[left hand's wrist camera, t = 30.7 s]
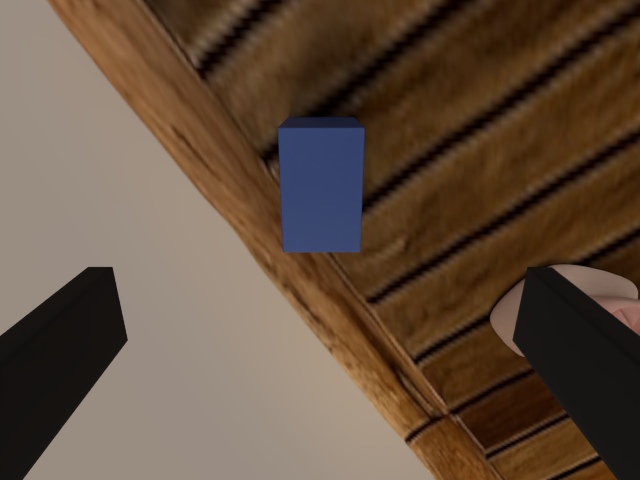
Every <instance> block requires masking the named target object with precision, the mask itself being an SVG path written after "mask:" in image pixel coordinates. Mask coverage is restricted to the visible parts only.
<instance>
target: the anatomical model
mask: <svg viewBox="0 0 640 480" xmlns="http://www.w3.org/2000/svg"><path fill="white" fill-rule="evenodd" d="M548 267H552V268H554V269H555V270H556V271H558V272H559V273H560V274H561V275H563V276H564V277H565V278H566V279H568V280H569V281H570V282H572V283H573V284H574V285H575V286H577V287H578V288H579V289H580V290H582V291H583V292H584V293H586V294H587V295H588V296H589V297H591V298H592V299H593V300H595V301H596V302H597V303H598V304H600V305H601V306H602V307H603V308H605V309H606V310H607V311H609V312H610V313H611V314H612V315H614V316H615V317H616V318H617V319H619V320H620V321H621V322H623V323H624V324H625V325H626V326H628V327H629V328H630V329H632V330H633V331H634V332H635V333H637V334H638V335H639V336H640V300H638V291H637V288H636V286H635V285H634V284H633V283H632V282H631V281H629V280H628V279H625V278H623V277H621V276H619V275H615V274H612V273H609V272H606V271H602V270H598V269H594V268H589V267H584V266H578V265H568V264H560V265H552V266H548ZM524 282H525V279H523V280H522V281H521V282H519V283H518V284H517V285H516V286H515V287H513V288H512V289H511V290H510V291H509V292H508V293H507V294H506V295H505V296H504V297H503V298H502V299H501V300H500V301H499V302H498V303H497V305H496V306H495V307H494V309H493V311H492V312H491V315H490V322H491V325H492V327H493V328H494V330H495V332H496V333H497V334H498V335H499V336H500V338H501V339H502V340H503V341H504V343H505V344H506V345H507V346H509V347H510V348H511V349H512V350H513V351H515V352H516V353H517V354H519V355H521V356H523V357H524V355H523V354H522V353H521V351H520V350H519V349H518V347H517V346H516V345H515V343H514V342H513V341H512V339H513V334H514V329H515V325H516V320H517V315H518V310H519V305H520V301H521V296H522V291H523V286H524Z"/></svg>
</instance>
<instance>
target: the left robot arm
mask: <svg viewBox="0 0 640 480" xmlns="http://www.w3.org/2000/svg"><path fill="white" fill-rule="evenodd" d="M127 341H128V339H127V334H126V329H125V325H124V320H123V315H122V310H121V305H120V301H119V296H118V291H117V286H116V282H115V277H114V272H113V267H88V268H86V269H85V270H84V271H83V272H81V273H80V274H79V275H77V276H76V277H75V278H74V279H72V280H71V281H70V282H68V283H67V284H66V285H65V286H63V287H62V288H61V289H60V290H58V291H57V292H56V293H54V294H53V295H52V296H51V297H49V298H48V299H47V300H45V301H44V302H43V303H42V304H40V305H39V306H38V307H37V308H35V309H34V310H33V311H32V312H30V313H29V314H28V315H26V316H25V317H24V318H23V319H21V320H20V321H19V322H17V323H16V324H15V325H14V326H12V327H11V328H10V329H9V330H7V331H6V332H5V333H3V334H2V335H1V336H0V480H23V479H24V477H25V476H26V475H27V473H28V472H29V471H30V469H31V468H32V467H33V465H34V464H35V463H36V461H37V460H38V459H39V457H40V456H41V455H42V453H43V452H44V451H45V449H46V448H47V447H48V445H49V444H50V443H51V441H52V440H53V439H54V437H55V436H56V435H57V433H58V432H59V431H60V429H61V428H62V427H63V425H64V424H65V423H66V422H67V420H68V419H69V418H70V416H71V415H72V414H73V412H74V411H75V410H76V408H77V407H78V406H79V404H80V403H81V402H82V400H83V399H84V398H85V396H86V395H87V394H88V392H89V391H90V390H91V388H92V387H93V386H94V384H95V383H96V382H97V380H98V379H99V378H100V376H101V375H102V374H103V372H104V371H105V370H106V368H107V367H108V366H109V364H110V363H111V362H112V361H113V359H114V358H115V356H116V355H117V354H118V352H119V351H120V350H121V349H122V347H123V346H124V345H125V343H126V342H127ZM512 341H513V342H514V343H515V345H516V346H517V347H518V349H519V350H520V351H521V353H522V354H523V355H524V357H525V358H526V359H527V361H528V362H529V363H530V364H531V366H532V367H533V368H534V370H535V371H536V372H537V374H538V375H539V376H540V378H541V379H542V380H543V382H544V383H545V384H546V386H547V387H548V388H549V390H550V391H551V392H552V394H553V395H554V396H555V398H556V399H557V400H558V402H559V403H560V404H561V406H562V407H563V408H564V410H565V411H566V412H567V414H568V415H569V416H570V418H571V419H572V420H573V422H574V423H575V424H576V425H577V427H578V428H579V429H580V431H581V432H582V433H583V435H584V436H585V437H586V439H587V440H588V441H589V443H590V444H591V445H592V447H593V448H594V449H595V451H596V452H597V453H598V455H599V456H600V457H601V459H602V460H603V461H604V463H605V464H606V465H607V467H608V468H609V469H610V471H611V472H612V473H613V475H614V476H615V477H616V479H617V480H640V336H639V335H638V334H637V333H635V332H634V331H633V330H632V329H630V328H629V327H628V326H626V325H625V324H624V323H623V322H621V321H620V320H619V319H617V318H616V317H615V316H614V315H612V314H611V313H610V312H609V311H607V310H606V309H605V308H603V307H602V306H601V305H600V304H598V303H597V302H596V301H595V300H593V299H592V298H591V297H589V296H588V295H587V294H586V293H584V292H583V291H582V290H580V289H579V288H578V287H577V286H575V285H574V284H573V283H572V282H570V281H569V280H568V279H566V278H565V277H564V276H563V275H561V274H560V273H559V272H558V271H556V270H555V269H554V268H552V267H527V272H526V277H525V282H524V286H523V291H522V296H521V301H520V305H519V310H518V315H517V320H516V325H515V329H514V334H513V339H512Z"/></svg>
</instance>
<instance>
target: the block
mask: <svg viewBox="0 0 640 480" xmlns="http://www.w3.org/2000/svg"><path fill="white" fill-rule="evenodd" d="M364 139H365V127H363V126H362V125H361V124H360V123H359V122H358V121H357V120H356V119H355V118H354V117H288V118H287V119H286V120H285V121H284V122H283V123H282V124H281V126H280V127H279V128H278V140H279V166H280V191H281V217H282V242H283V252H360V245H361V219H362V192H363V166H364Z"/></svg>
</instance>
